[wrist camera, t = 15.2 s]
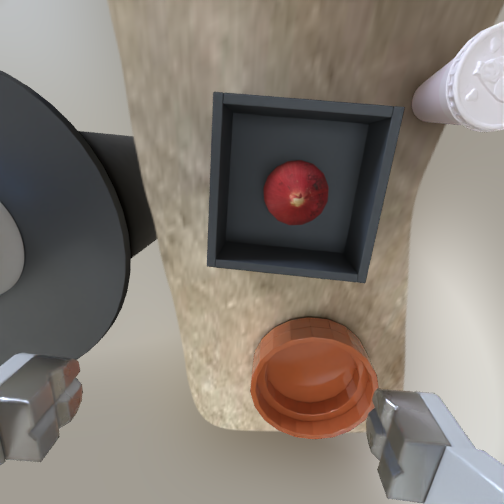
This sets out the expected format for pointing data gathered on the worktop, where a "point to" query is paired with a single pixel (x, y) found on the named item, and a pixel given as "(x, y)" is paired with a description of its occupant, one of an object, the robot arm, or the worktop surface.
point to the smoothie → (467, 86)
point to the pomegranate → (296, 192)
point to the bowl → (312, 379)
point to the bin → (309, 150)
